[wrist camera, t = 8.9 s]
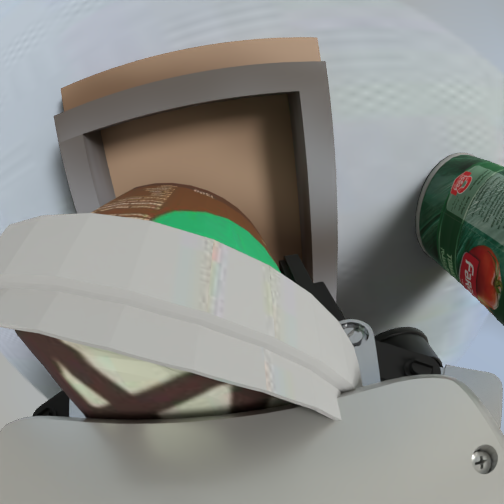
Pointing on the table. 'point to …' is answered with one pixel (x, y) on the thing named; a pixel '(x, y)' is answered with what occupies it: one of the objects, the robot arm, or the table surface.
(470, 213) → the canned tomato
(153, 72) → the wooden tray
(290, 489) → the robot arm
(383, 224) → the table surface
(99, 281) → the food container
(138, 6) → the table surface
